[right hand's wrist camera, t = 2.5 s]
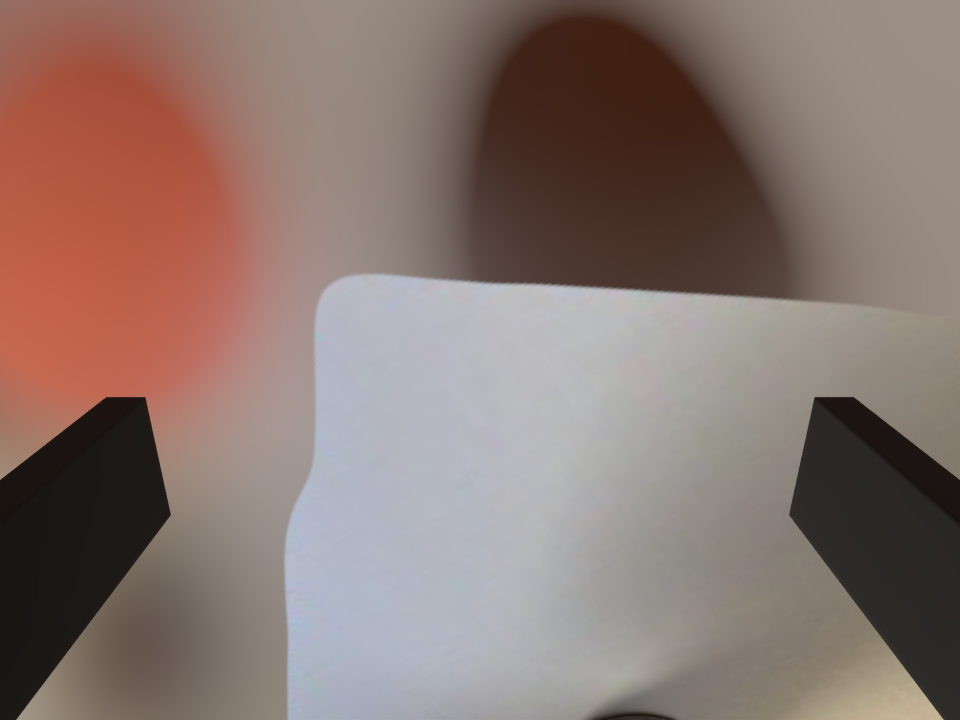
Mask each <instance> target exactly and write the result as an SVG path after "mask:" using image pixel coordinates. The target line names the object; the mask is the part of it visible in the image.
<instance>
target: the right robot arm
mask: <svg viewBox="0 0 960 720" xmlns="http://www.w3.org/2000/svg"><path fill="white" fill-rule="evenodd" d="M170 515H171V514H170V509H169V504H168V500H167V495H166V491H165V486H164V481H163V477H162V472H161V468H160V463H159V458H158V453H157V449H156V444H155V440H154V435H153V430H152V426H151V421H150V416H149V412H148V407H147V403H146V398H145V397H106V398H105V399H103V400H102V401H101V402H100V403H98V404H97V405H96V406H94V407H93V408H92V409H91V410H89V411H88V412H87V413H86V414H84V415H83V416H82V417H80V418H79V419H78V420H77V421H75V422H74V423H73V424H71V425H70V426H69V427H68V428H66V429H65V430H64V431H62V432H61V433H60V434H59V435H57V436H56V437H55V438H53V439H52V440H51V441H50V442H48V443H47V444H46V445H45V446H43V447H42V448H41V449H39V450H38V451H37V452H36V453H34V454H33V455H32V456H30V457H29V458H28V459H27V460H25V461H24V462H23V463H21V464H20V465H19V466H18V467H16V468H15V469H14V470H12V471H11V472H10V473H9V474H7V475H6V476H5V477H3V478H2V479H1V480H0V720H16V719H17V718H18V717H19V715H20V714H21V713H22V711H23V710H24V709H25V707H26V706H27V705H28V703H29V702H30V701H31V699H32V698H33V697H34V695H35V694H36V693H37V692H38V690H39V689H40V688H41V686H42V685H43V684H44V682H45V681H46V680H47V678H48V677H49V676H50V674H51V673H52V672H53V670H54V669H55V668H56V666H57V665H58V664H59V662H60V661H61V660H62V658H63V657H64V656H65V654H66V653H67V652H68V650H69V649H70V648H71V646H72V645H73V644H74V643H75V641H76V640H77V639H78V637H79V636H80V635H81V633H82V632H83V631H84V629H85V628H86V627H87V625H88V624H89V623H90V621H91V620H92V619H93V617H94V616H95V615H96V613H97V612H98V611H99V609H100V608H101V607H102V605H103V604H104V603H105V601H106V600H107V599H108V597H109V596H110V595H111V594H112V592H113V591H114V590H115V588H116V587H117V586H118V584H119V583H120V582H121V580H122V579H123V578H124V576H125V575H126V574H127V572H128V571H129V570H130V568H131V567H132V566H133V564H134V563H135V562H136V560H137V559H138V558H139V556H140V555H141V554H142V552H143V551H144V550H145V549H146V547H147V546H148V545H149V543H150V542H151V541H152V539H153V538H154V537H155V535H156V534H157V533H158V531H159V530H160V529H161V527H162V526H163V525H164V523H165V522H166V521H167V519H168V518H169V517H170ZM789 515H790V517H791V518H792V519H793V521H794V522H795V523H796V525H797V526H798V527H799V529H800V530H801V531H802V533H803V534H804V535H805V537H806V538H807V539H808V541H809V542H810V543H811V545H812V546H813V547H814V549H815V550H816V551H817V552H818V554H819V555H820V556H821V558H822V559H823V560H824V562H825V563H826V564H827V566H828V567H829V568H830V570H831V571H832V572H833V574H834V575H835V576H836V578H837V579H838V580H839V582H840V583H841V584H842V586H843V587H844V588H845V590H846V591H847V592H848V594H849V595H850V596H851V598H852V599H853V600H854V601H855V603H856V604H857V605H858V607H859V608H860V609H861V611H862V612H863V613H864V615H865V616H866V617H867V619H868V620H869V621H870V623H871V624H872V625H873V627H874V628H875V629H876V631H877V632H878V633H879V635H880V636H881V637H882V639H883V640H884V641H885V643H886V644H887V645H888V646H889V648H890V649H891V650H892V652H893V653H894V654H895V656H896V657H897V658H898V660H899V661H900V662H901V664H902V665H903V666H904V668H905V669H906V670H907V672H908V673H909V674H910V676H911V677H912V678H913V680H914V681H915V682H916V684H917V685H918V686H919V688H920V689H921V690H922V692H923V693H924V694H925V695H926V697H927V698H928V699H929V701H930V702H931V703H932V705H933V706H934V707H935V709H936V710H937V711H938V713H939V714H940V715H941V717H942V718H943V719H944V720H960V480H959V479H958V478H957V477H955V476H954V475H953V474H951V473H950V472H949V471H948V470H946V469H945V468H944V467H942V466H941V465H940V464H939V463H937V462H936V461H935V460H933V459H932V458H931V457H930V456H928V455H927V454H926V453H924V452H923V451H922V450H921V449H919V448H918V447H917V446H916V445H914V444H913V443H912V442H910V441H909V440H908V439H907V438H905V437H904V436H903V435H901V434H900V433H899V432H898V431H896V430H895V429H894V428H892V427H891V426H890V425H889V424H887V423H886V422H885V421H883V420H882V419H881V418H880V417H878V416H877V415H876V414H875V413H873V412H872V411H871V410H869V409H868V408H867V407H866V406H864V405H863V404H862V403H860V402H859V401H858V400H857V399H855V398H854V397H815V398H814V403H813V407H812V412H811V416H810V421H809V426H808V430H807V435H806V440H805V444H804V449H803V453H802V458H801V463H800V467H799V472H798V477H797V481H796V486H795V490H794V495H793V500H792V504H791V509H790V514H789ZM607 720H666V719H663V718H657V717H650V716H624V717H616V718H611V719H607Z"/></svg>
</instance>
